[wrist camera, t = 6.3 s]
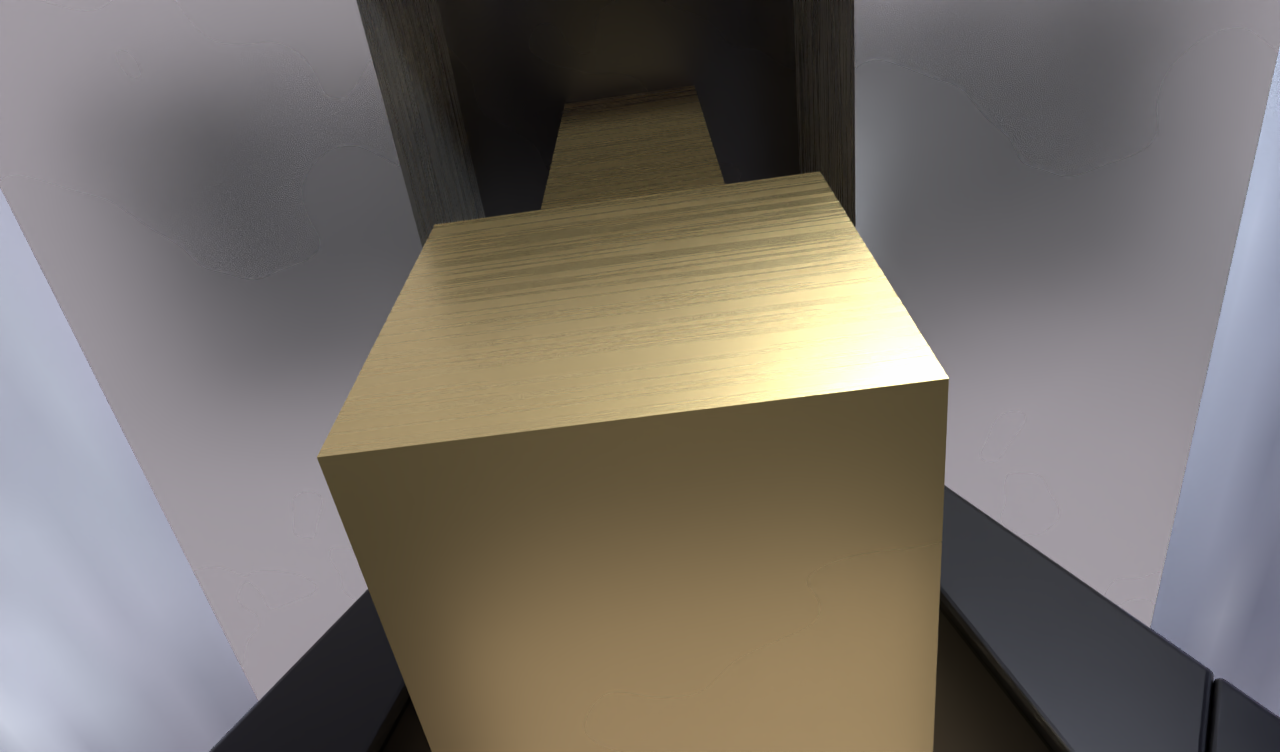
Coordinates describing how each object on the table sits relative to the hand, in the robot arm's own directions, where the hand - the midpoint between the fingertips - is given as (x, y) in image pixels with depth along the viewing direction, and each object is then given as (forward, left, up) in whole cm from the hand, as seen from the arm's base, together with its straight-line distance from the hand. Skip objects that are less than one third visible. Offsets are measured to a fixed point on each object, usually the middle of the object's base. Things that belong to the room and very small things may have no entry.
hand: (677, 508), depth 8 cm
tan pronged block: (0, 0, -3) cm, 3 cm away
